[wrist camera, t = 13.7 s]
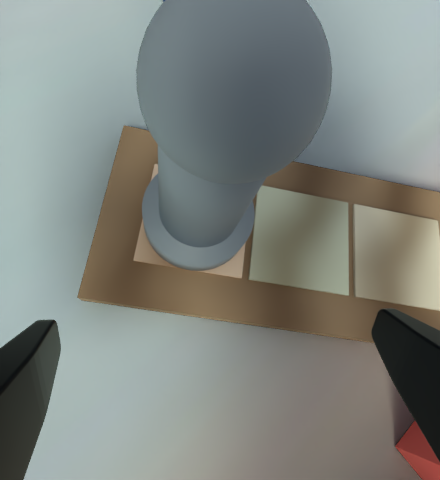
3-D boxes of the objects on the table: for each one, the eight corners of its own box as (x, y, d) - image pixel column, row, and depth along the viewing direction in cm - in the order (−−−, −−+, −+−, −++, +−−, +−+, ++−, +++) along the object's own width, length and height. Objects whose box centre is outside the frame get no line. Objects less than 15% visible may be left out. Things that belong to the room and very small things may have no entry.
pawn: (267, 230, 18) (440, 37, 7) (187, 292, 16) (246, 170, 5) (204, 156, 19) (267, -123, 8) (121, 208, 17) (46, -58, 6)
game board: (449, 203, 22) (464, 195, 21) (468, 356, 19) (487, 357, 18) (125, 135, 20) (123, 123, 19) (81, 300, 17) (76, 296, 15)
